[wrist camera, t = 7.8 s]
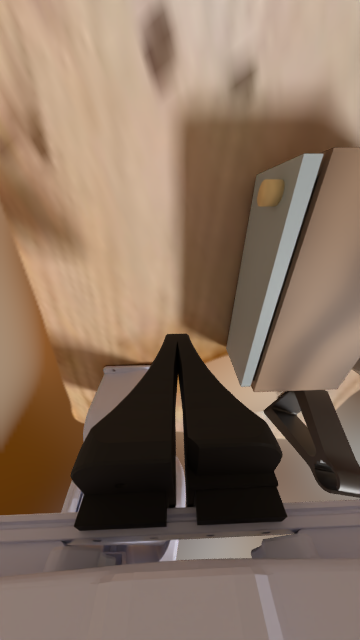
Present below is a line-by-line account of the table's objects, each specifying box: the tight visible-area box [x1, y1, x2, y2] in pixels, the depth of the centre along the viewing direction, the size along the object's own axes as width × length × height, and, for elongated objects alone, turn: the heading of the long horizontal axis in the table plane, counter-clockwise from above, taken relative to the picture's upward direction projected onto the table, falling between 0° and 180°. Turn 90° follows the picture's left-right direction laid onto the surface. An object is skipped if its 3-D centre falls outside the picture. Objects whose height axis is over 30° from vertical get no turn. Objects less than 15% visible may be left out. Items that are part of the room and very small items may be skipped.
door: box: [226, 154, 323, 387], centre depth 16 cm, size 2×18×6 cm, turn 0°
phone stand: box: [264, 390, 360, 498], centre depth 26 cm, size 9×6×12 cm, turn 154°
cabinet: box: [251, 147, 360, 392], centre depth 17 cm, size 9×19×6 cm, turn 1°
